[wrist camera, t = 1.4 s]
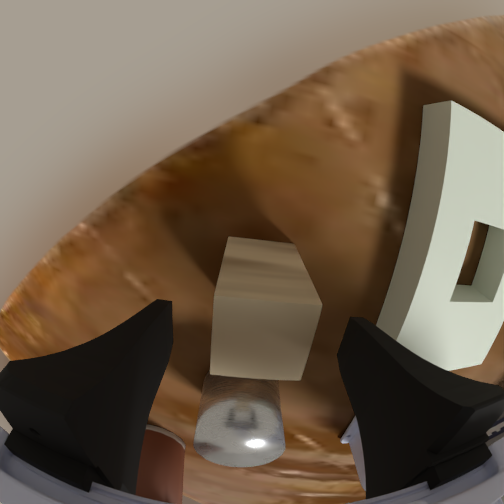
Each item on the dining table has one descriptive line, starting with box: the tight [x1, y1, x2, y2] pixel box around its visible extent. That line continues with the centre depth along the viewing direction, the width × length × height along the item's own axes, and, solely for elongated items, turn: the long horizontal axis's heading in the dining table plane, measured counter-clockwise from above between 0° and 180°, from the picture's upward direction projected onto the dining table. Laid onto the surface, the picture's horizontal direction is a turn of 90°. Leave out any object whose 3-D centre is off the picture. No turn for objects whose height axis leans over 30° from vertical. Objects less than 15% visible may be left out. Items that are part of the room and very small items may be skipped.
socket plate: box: [376, 100, 504, 371], centre depth 15 cm, size 18×12×3 cm, turn 173°
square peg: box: [210, 236, 323, 381], centre depth 13 cm, size 4×4×7 cm
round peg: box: [194, 370, 285, 467], centre depth 17 cm, size 6×6×6 cm
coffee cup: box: [136, 424, 186, 504], centre depth 18 cm, size 9×9×12 cm
